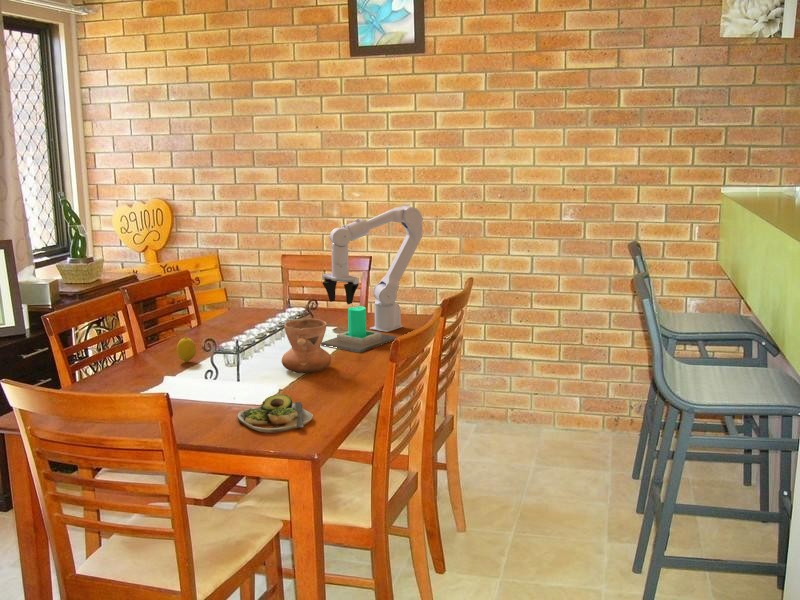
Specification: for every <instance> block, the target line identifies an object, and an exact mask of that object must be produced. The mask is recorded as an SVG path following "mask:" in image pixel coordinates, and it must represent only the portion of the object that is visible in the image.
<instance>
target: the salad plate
mask: <svg viewBox="0 0 800 600" xmlns="http://www.w3.org/2000/svg"><path fill="white" fill-rule="evenodd" d="M236 417H237V421H238V422H239V423H240V424H242V425H244V426H246V428H247V427H248V428H249V429H251V430H255V431H257V432H260V433H269V434H271V433H272V434H273V433H282V432H283V433H284V432H287V431H291V430H296V429H301V428H304V426H305V425H307V424H308V423H310V422H311V420H313V417H314V414H313V413H312V412H310V411H308V410H306V409H304V408H303V403H302V402H301V401H295V402H294V403H293V400H292V398H291V397H290V396H289V395H287V394H281V393H279V394H273V395H271V396H269V397H266V398H265V399H264V400H263V401H262V404H261V406H257V407H252V408H251V407H250V408H245V409H243V410H240V411H239V412H238V414H237V416H236ZM254 425H255V426H254ZM257 425H259V426H257ZM260 425H272V426H274V427H260Z"/></svg>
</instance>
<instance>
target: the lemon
mask: <svg viewBox="0 0 800 600" xmlns="http://www.w3.org/2000/svg"><path fill="white" fill-rule="evenodd" d="M196 351H197V349H196V344H195V342H194V340H193V339H192V338H189V337H188V336H184V337H183V338H181V339H180V340H179V341H178V343H177V346H176V353H177V356H178V358H179V360H182V361H183V362H185V363H189V362H190V361H191V360H193V358H194V357H195V356H196Z"/></svg>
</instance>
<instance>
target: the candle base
mask: <svg viewBox="0 0 800 600" xmlns="http://www.w3.org/2000/svg"><path fill="white" fill-rule="evenodd" d="M395 338H397V336H396V335H389V334H382V332H381V331H375V330H374V331H373V330H370V329H369V330H368V329H366V337H363V338H359V337H353V336H348V330H347V331H344V332H342V333H339V334H336V337H334V338H331V339H328V340H324V341H322V343H321V345H326V346H333V347H337V348H340V349H339V350H342V349H343V350H344V351H347V350H348V351H349V352H355V353H359V354H361V353H364V352H367V351H368V350H372V349H375V348H377V347H376V346H378V347H380V346H379V345H381V344H383V345H385V344H384V343H386V342H389V341H391V340H392V342H394V341H395V340H394V339H395ZM397 339H398V338H397ZM393 340H394V341H393ZM389 343H390V342H389ZM386 344H387V343H386ZM321 345H320V346H321ZM326 346H325V347H326ZM381 346H382V345H381ZM374 347H375V348H374ZM337 348H336V349H337ZM371 348H372V349H371ZM343 350H342V351H343ZM366 350H367V351H366ZM348 351H347V352H348Z"/></svg>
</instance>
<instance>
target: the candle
mask: <svg viewBox="0 0 800 600" xmlns="http://www.w3.org/2000/svg"><path fill="white" fill-rule="evenodd" d="M347 320H348V321H347V323H348V324H347V326H348V327H347V329H348V330H347V331H348V336H353V337H359V338H363V337H366V330H367V307H365V306H362V305H361V306H360V305H357V306H350V307H349V308H348V309H347Z"/></svg>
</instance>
